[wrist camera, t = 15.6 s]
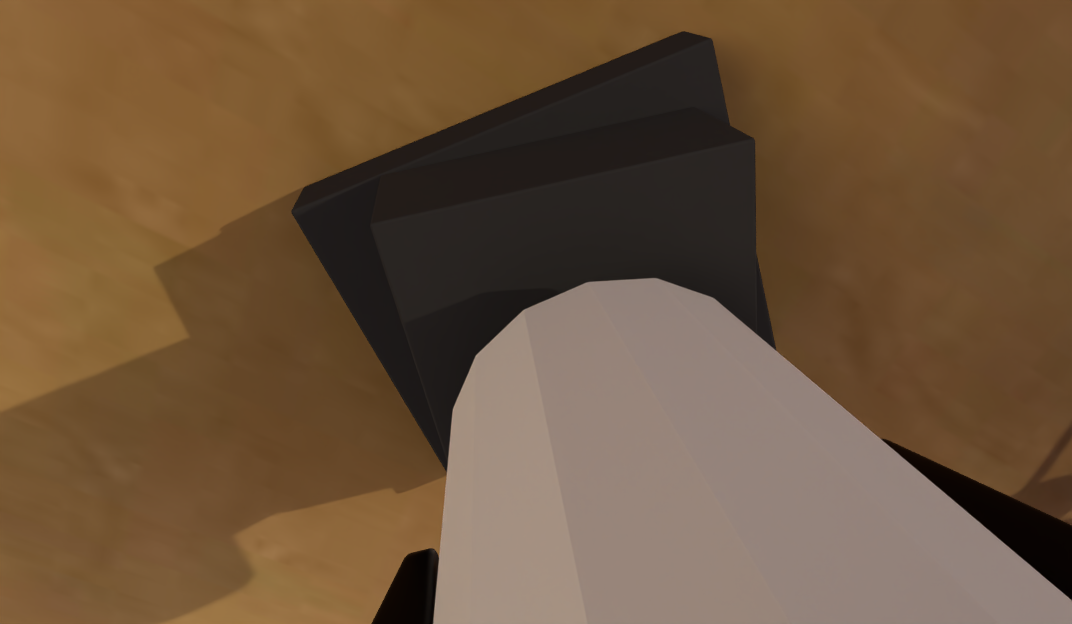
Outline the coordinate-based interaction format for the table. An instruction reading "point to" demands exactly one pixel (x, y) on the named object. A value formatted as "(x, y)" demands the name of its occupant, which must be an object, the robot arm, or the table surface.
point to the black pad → (563, 232)
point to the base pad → (566, 107)
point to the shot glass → (693, 485)
